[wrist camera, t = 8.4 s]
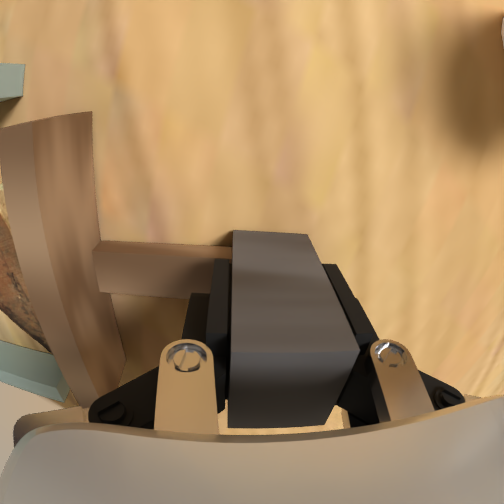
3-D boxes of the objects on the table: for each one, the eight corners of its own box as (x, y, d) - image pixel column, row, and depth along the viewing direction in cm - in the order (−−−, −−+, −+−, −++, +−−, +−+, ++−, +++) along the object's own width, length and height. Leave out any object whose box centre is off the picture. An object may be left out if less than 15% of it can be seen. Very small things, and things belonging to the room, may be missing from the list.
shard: (78, 351, 16) (68, 372, 14) (-5, 329, 15) (-16, 344, 14) (44, 176, 11) (22, 187, 10) (-44, 180, 10) (-64, 190, 9)
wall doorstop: (280, 369, 16) (295, 474, 10) (103, 356, 15) (69, 450, 10) (324, 117, 10) (421, 142, 4) (61, 115, 9) (-61, 148, 4)
